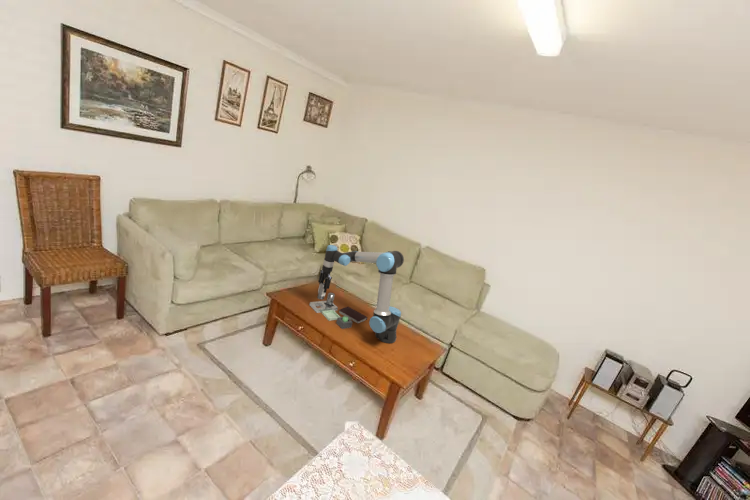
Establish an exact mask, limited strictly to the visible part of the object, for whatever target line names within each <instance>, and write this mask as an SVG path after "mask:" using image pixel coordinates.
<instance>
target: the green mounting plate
mask: <svg viewBox="0 0 750 500" xmlns="http://www.w3.org/2000/svg"><path fill="white" fill-rule="evenodd" d="M321 315H323V316H324V317H325V319H326V320H327V321H328V322H330V321H337V318H338V317H341V316H340V314H338V313H337V311H334V310H327V311H322V312H321Z"/></svg>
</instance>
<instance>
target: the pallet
mask: <svg viewBox="0 0 750 500" xmlns="http://www.w3.org/2000/svg"><path fill="white" fill-rule="evenodd" d="M326 301H327V300H321V301H320V300H318V301H310V302H309V307H310V308H312V310H313V311H314V312H315V313H316V314H319V313H320V314H322V311H327V310H334V311H335V312H338V311H339V307H338V306H337V305H336V304H334V302H333V304H332V307H327V306H326Z"/></svg>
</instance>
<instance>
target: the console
mask: <svg viewBox="0 0 750 500" xmlns="http://www.w3.org/2000/svg"><path fill="white" fill-rule="evenodd" d="M343 317H344V316H340V317H338V318H337V320H336V322H335V324H336V325H337V326H338V327H339V328H340V329H341V330H344V329H350V328H353V327H352V326H353V322H354V321H353V320H351V319H349V318H348V322H344V321H343V320H342V319H343ZM346 317H347V316H346Z"/></svg>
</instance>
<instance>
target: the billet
mask: <svg viewBox="0 0 750 500" xmlns="http://www.w3.org/2000/svg"><path fill="white" fill-rule="evenodd" d="M324 282H325V281H324ZM324 282H321V283H320V288H319V287H318V289H319V292H318V291H317V297H316V298H317V299H318V300H319V301H320V300H321V301H324V300H325V296H321V295H322V291H323V288H324Z"/></svg>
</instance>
